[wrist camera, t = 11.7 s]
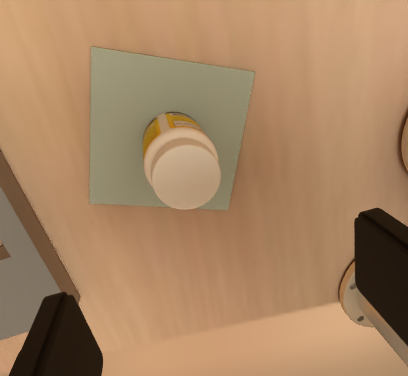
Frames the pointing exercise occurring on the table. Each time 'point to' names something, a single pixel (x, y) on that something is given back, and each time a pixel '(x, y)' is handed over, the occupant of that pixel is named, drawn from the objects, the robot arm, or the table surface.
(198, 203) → the supplement bottle
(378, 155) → the table surface
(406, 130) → the cylinder vase
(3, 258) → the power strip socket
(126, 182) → the rubber mat
